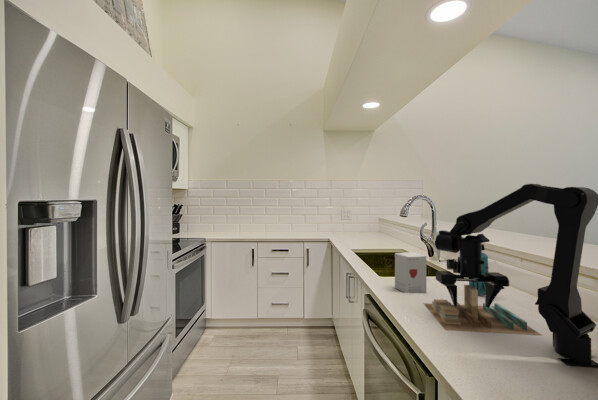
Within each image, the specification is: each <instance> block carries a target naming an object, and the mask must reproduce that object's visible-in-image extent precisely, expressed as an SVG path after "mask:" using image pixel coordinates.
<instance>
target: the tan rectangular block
mask: <svg viewBox="0 0 598 400" xmlns="http://www.w3.org/2000/svg"><path fill="white" fill-rule="evenodd" d="M463 287H464V289H463V292H464V293H463V295H464V298H463V299H464V302H463V303H464V304H463V305H464V308H465V309H466V310H467V311H468V312H470V313H471V314H472V315H473V316H474V317H476V318H477V319H478V306H479V295H478V290H477V289H475V288H473V287H472V286H470V285H469V284H463Z"/></svg>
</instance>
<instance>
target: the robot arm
mask: <svg viewBox="0 0 598 400" xmlns="http://www.w3.org/2000/svg"><path fill="white" fill-rule="evenodd" d="M534 201H536V202H540V203H543V204H547V205H548V204H549V205H551V206H552V205H553V212H554V215H555V219H556V221H557V224H558V225H557V226H558V228H557V235H556V242H555V251H554V255H553V263H552V269H551V276H550V283H549V284H548V285H546V286H543V287H539V288H537V300H536V302H535V303H534V305H536V306H537V310H538V313H539V314H540V315H541V316H542V318H543V319H544V320H545V322H546V325H547V328H548V330H549V332H551V333H552V347H553V348H554V352H555V353H556V354H558V355H559V356H561V357H563V358H560V357H558V358H557V359H558V360H560V361H561V362H563V363H564V364H565V365H567V366H577V367H590V368H591V367H593V368H594V367H595V368H598V362H596V361H595V360H593V359H592V338H591V337H590V335H589V334H590V333H593V331H594V330H595V328H596V326H597V324H596V323H595V322H594V321H593V320H592V319H591V318H590V317H589V316H588V315H587V314H586V313H585V311H583V308H582V305H583V304H582V297H581V295H580V293H579V289H578V279H579V274H580V267H581V261H582V254H583V247H584V242H585V235H586V229H587V227H588V225H589V223H590V222H591V220H592V219H593V217H595V213H596V211H597V209H598V193H597V192H596V191H595V190H594V189H591V188H589V187H584V186H582V187H581V186H566V187H563V188H562V187H554V186H548V185H543V184H539V183H526V184H524V185H522V186H520V188H518V189H516V190H515V191H512V192H511V193H509V194H507V195H505V196H503V197H502V198H500V199H498V200H496V201H493V202H492V203H491V204H488V205H487V206H485V207H484V208H481V209H478V210H477V209H476V210H473V211H470V212H467V213H464V214H461V215H459V216H458V217H457V218H456V221H455V224H454V225H453V227H452V228H451V230H450V231H448V230H439V231H438V235H436V238H435V240H434V245H435V249H437V250H438V251H442V252H448V253H453V254H457V253H459V256H458V257H457V261H455V259H453V258H452V259H450V258H449V259H446V269H447V270H438V271H436V273H435V280H436V281H438V283H440V284H441V285H442V286H445V287H446V289H447V291H448V293H449V297H450V299H451V301H452V304H453V305H454V306H457V302H458V285H456V283H457V282H469V281H475V282H484V284H485V287H486V295H485V297H484V298H485V299H484V300H485V301H484V303H486V307H487V308H489V307H490V306H492V304H493V302H494V300H495V299H496V297H497V296H498V294H499V293H500V292H501V290H505V287H508V288H509V287H510V279H509V277H508V276H506V275H504V274H502V273H500V272H495V271H494V272H490V271H489V272H486V273H485V275H483V274H482V264H484V261H483V260H482V253H483V252H482V251H483V250H482V243H489V242H490V239H489V238H488V237H487V236H485V234H483V233H481V232H483V231H485V229H487V228H489V227H490V226H491V225H492V223H493V222H495V221H496V220H497V219H499V218H501V217H503V216H505V215H507V214H510V213H512V212H515V211H516V210H518V209H520V208H522V207H524V206H526V205H528V204H530V203H532V202H534ZM472 234H477V235H472ZM464 236H465V237H464ZM450 270H452V272H451V271H450ZM474 278H477V279H474Z"/></svg>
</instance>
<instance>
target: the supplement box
mask: <svg viewBox="0 0 598 400" xmlns="http://www.w3.org/2000/svg"><path fill="white" fill-rule="evenodd" d="M394 288H395V289H397V290H398V291H400V292H403V293H405V294H406V293H407V294H426V293H427V255H425V254H422V253H418V252H416V251H415V252H414V251H412V252H411V251H408V252H404V251H403V252H395V253H394Z"/></svg>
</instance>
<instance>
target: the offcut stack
mask: <svg viewBox="0 0 598 400" xmlns="http://www.w3.org/2000/svg"><path fill="white" fill-rule="evenodd" d="M431 304H432V309H433V310H434V311H435V312H436V313H437V314H438V316H439V317H440V318H441V319H442V320H443V321H444V322H445V324H458V325H461V320H460V319H459V318H458V315H459V311H458V310H457V309H456V308H455V307H454V306H453V305H454V304H453V303H451V302H450V301H448V300H447V299H442V298H441V299H439V298H438V299H437V298H436V299H435V298H434V299H433V300H432V303H431ZM452 304H453V305H452Z"/></svg>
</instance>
